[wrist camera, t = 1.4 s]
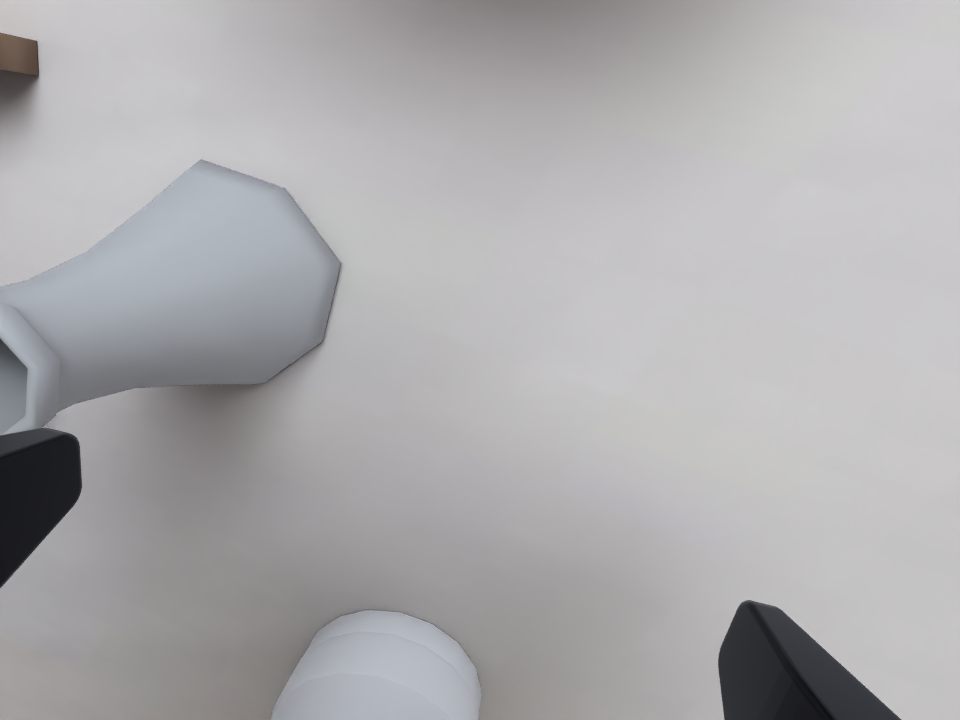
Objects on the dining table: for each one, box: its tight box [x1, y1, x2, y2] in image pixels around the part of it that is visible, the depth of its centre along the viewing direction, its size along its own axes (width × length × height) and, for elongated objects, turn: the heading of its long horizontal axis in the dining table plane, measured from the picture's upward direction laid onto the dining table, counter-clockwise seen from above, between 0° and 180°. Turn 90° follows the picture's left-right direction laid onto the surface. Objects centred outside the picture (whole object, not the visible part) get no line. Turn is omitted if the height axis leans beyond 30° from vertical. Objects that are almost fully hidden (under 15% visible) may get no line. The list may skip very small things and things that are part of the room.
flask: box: [0, 160, 341, 435], centre depth 15 cm, size 7×7×10 cm
